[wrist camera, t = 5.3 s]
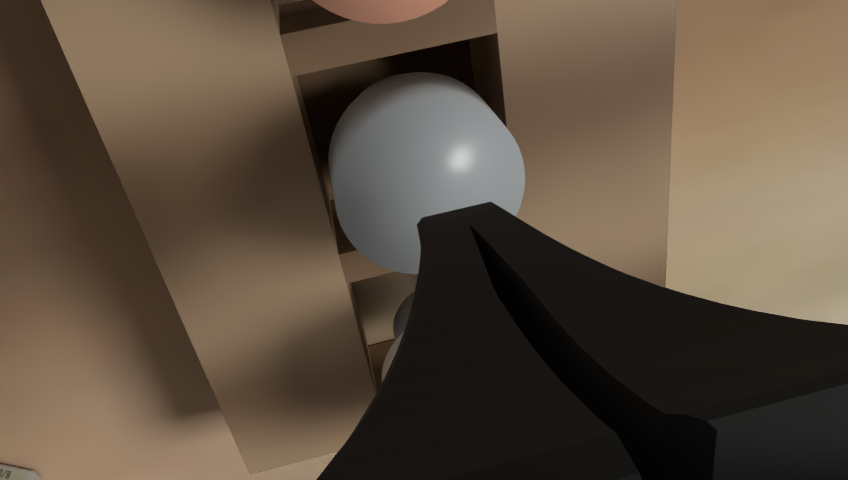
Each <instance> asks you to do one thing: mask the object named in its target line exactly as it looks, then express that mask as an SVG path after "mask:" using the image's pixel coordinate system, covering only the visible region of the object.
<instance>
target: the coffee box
mask: <svg viewBox="0 0 848 480" xmlns="http://www.w3.org/2000/svg"><path fill="white" fill-rule="evenodd" d="M0 480H40V476H39V475H38V474H37V473H36V472H35V471H33V470H28V469H23V468H18V467H13V466H8V465H3V464H0Z"/></svg>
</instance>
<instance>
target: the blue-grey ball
mask: <svg viewBox="0 0 848 480" xmlns="http://www.w3.org/2000/svg"><path fill="white" fill-rule="evenodd" d="M328 158H329V171H330V177H331V183H332V189H333V195H334V201H335V206H336V212H337V216H338V219H339V222H340V225H341V227H342V229H343V231H344V233H345V235H346V236H347V238H348V239H349V241H350V242H351V243H352V245H353V246H354V247H355V248H356V249H357V250H358V251H359V252H360V253H361V254H363V255H364V256H365V257H366V258H368V259H369V260H371V261H372V262H374V263H376V264H378V265H380V266H382V267H384V268H387V269H389V270H393V271H396V272H400V273H406V274H418V272H419V264H420V252H421V245H420V239H419V234H418V229H417V224H418V222H419V221H420V220H421V218H422V217H426V216H431V215H435V214H439V213H444V212H448V211H452V210H456V209H461V208H465V207H469V206H474V205H478V204H482V203H486V202H493V203H494V204H496V205H498V206H499V207H501V208H503V209H504V210H506V211H507V212H509V213H511V214H512V215H514V216H515V217H516V215H517V213H518V211H519V208H520V206H521V202H522V198H523V194H524V187H525V169H524V162H523V158H522V155H521V152H520V149H519V147H518V145H517V143H516V141H515V139H514V137H513V136H512V134H511V133H510V132H509V130H508V129H507V128H506V126H505V125H504V124H503V123H502V122H501V120H500V119H499V118H498V117H497V116H496V114H495V113H494V112H493V111H492V110H491V108H490V107H489V106H488V105H487V104H486V102H485V101H484V100H483V99H482V98H481V97H480V96H479V95H478V94H477V93H476V92H475V91H474V90H472V89H471V88H470V87H469V86H467V85H465V84H464V83H462V82H460V81H458V80H456V79H453V78H451V77H449V76H445V75H441V74H437V73H428V72H412V73H401V74H393V75H389V76H386V77H383V78H381V79H379V80H377V81H375V82H374V83H372V84H371V85H369V86H368V87H367V88H366V89H365V90H364V91H363V92H362V93H361V94H360V95H359V96H358V97H357V98H356V99H355V100H354V101H353V102H352V103H351V104H350V105H349V106H348V107H347V109H346V110H345V111H344V113H343V114H342V116H341V118H340V119H339V121H338V123H337V125H336V127H335V130H334V132H333V135H332V138H331V142H330V147H329V156H328Z"/></svg>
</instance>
